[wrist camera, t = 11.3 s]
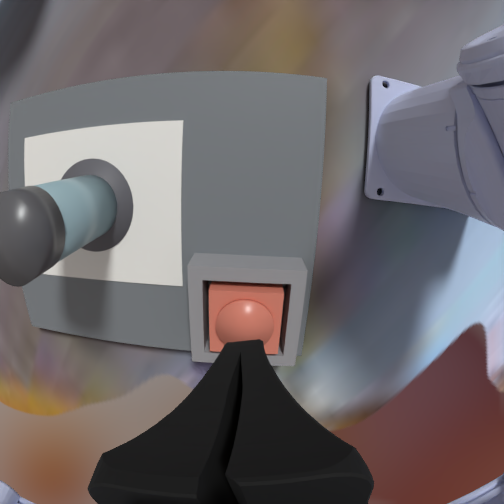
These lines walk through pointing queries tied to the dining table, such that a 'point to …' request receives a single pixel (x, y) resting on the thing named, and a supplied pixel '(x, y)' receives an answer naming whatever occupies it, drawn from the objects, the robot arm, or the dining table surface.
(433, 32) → the dining table surface
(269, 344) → the button
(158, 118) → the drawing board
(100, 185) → the salt shaker
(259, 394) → the robot arm
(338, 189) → the dining table surface
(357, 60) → the dining table surface
